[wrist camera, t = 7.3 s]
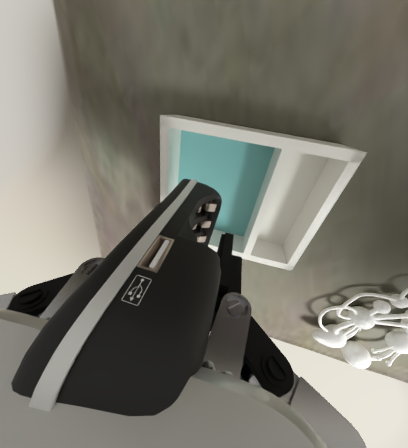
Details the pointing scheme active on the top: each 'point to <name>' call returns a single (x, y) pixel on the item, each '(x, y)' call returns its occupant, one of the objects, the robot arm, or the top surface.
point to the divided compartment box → (258, 182)
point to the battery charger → (134, 316)
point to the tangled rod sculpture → (365, 320)
